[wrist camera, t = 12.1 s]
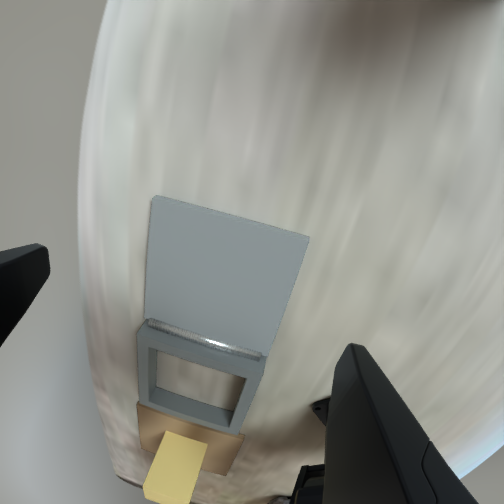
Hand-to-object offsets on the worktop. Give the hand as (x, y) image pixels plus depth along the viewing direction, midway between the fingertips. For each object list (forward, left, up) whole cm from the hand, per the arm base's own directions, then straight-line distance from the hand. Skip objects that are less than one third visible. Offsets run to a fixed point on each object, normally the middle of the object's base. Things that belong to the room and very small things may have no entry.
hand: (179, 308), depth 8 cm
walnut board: (-22, +23, -12) cm, 34 cm away
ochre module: (-22, +23, -11) cm, 34 cm away
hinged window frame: (-8, +9, -12) cm, 17 cm away
